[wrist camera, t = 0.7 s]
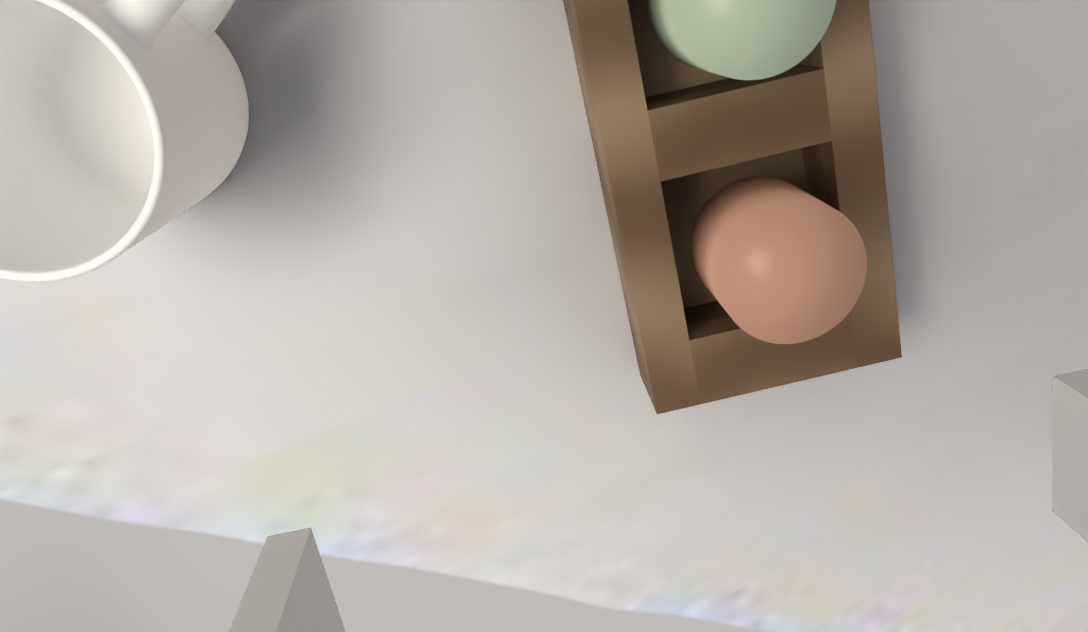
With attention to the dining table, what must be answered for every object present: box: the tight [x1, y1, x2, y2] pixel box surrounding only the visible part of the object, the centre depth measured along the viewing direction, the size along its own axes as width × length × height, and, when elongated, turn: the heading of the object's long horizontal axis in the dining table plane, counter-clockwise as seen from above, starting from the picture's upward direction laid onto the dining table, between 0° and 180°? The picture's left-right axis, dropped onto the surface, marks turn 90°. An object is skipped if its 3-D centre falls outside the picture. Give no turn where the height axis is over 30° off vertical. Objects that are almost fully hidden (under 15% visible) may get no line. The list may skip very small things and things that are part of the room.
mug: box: [0, 0, 249, 282], centre depth 29 cm, size 12×8×10 cm
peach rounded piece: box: [690, 176, 867, 344], centre depth 31 cm, size 5×5×4 cm
